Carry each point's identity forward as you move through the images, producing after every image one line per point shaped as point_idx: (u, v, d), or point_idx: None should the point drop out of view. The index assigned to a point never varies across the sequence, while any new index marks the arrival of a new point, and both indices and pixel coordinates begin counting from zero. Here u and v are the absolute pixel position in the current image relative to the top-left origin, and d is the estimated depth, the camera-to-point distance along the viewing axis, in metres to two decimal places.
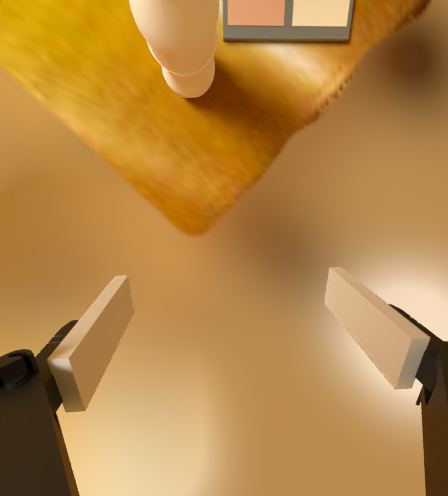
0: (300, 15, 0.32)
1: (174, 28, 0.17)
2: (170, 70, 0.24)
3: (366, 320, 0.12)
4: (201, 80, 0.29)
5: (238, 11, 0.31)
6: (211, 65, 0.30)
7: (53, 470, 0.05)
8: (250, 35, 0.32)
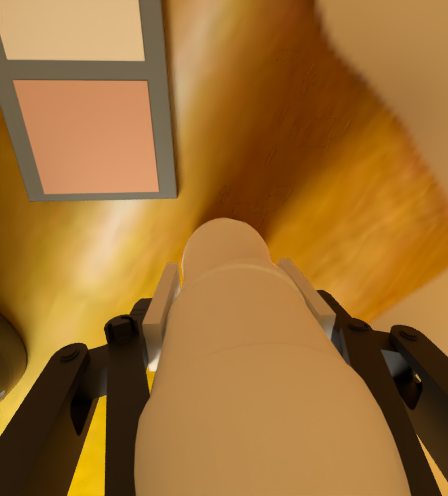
0: (125, 40, 0.16)
1: None
2: None
3: None
4: (267, 257, 0.16)
5: (138, 173, 0.19)
6: (230, 229, 0.17)
7: None
8: (168, 150, 0.18)
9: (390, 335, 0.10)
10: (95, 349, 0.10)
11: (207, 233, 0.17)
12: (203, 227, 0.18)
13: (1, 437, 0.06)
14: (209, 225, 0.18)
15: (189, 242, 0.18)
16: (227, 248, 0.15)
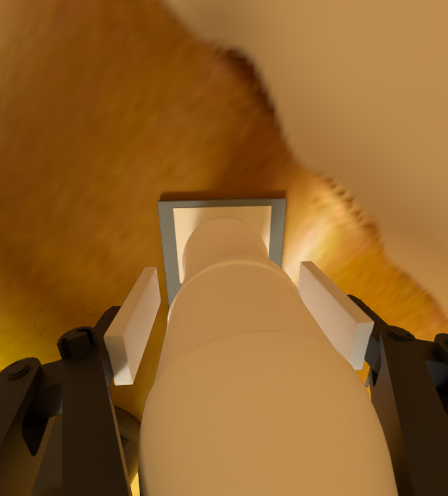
0: None
1: None
2: None
3: (326, 309, 0.13)
4: (265, 255, 0.16)
5: None
6: (229, 228, 0.18)
7: (108, 438, 0.06)
8: None
9: (434, 343, 0.09)
10: (51, 364, 0.09)
11: (206, 232, 0.18)
12: (203, 226, 0.19)
13: None
14: (209, 224, 0.19)
15: (189, 240, 0.19)
16: (226, 246, 0.15)
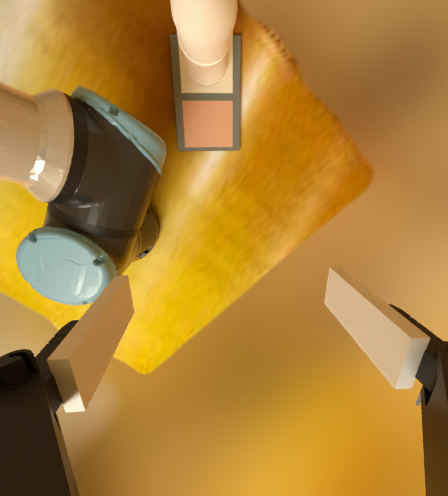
0: (226, 85, 0.42)
1: None
2: (229, 44, 0.30)
3: (366, 320, 0.12)
4: None
5: (225, 138, 0.45)
6: None
7: (54, 470, 0.05)
8: (238, 128, 0.44)
9: None
10: None
11: None
12: None
13: None
14: None
15: None
16: None
